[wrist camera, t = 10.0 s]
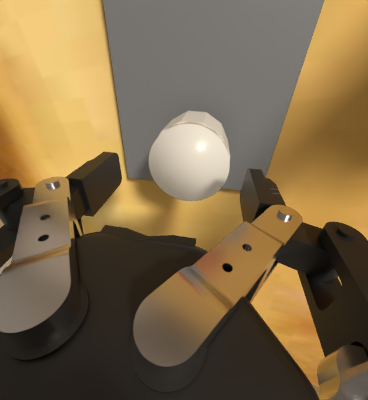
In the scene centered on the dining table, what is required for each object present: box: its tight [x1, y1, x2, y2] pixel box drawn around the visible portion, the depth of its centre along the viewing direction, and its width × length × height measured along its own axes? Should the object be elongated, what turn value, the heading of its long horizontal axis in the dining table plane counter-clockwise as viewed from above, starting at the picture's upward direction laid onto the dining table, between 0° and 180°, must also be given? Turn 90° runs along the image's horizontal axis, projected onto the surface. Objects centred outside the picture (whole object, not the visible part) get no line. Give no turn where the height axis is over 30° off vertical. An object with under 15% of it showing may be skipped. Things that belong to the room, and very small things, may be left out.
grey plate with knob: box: [103, 0, 324, 191], centre depth 14 cm, size 24×16×8 cm, turn 177°
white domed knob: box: [149, 111, 230, 201], centre depth 16 cm, size 6×6×5 cm
